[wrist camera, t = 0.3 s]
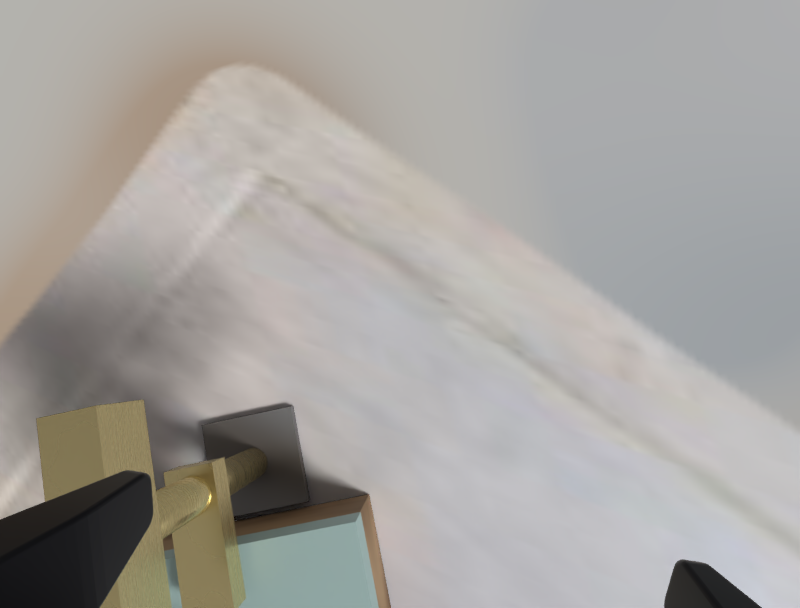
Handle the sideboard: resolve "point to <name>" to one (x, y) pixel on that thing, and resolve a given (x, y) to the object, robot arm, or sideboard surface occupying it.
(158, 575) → the key
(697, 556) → the sideboard surface
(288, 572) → the lid
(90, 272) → the sideboard surface
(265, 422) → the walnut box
